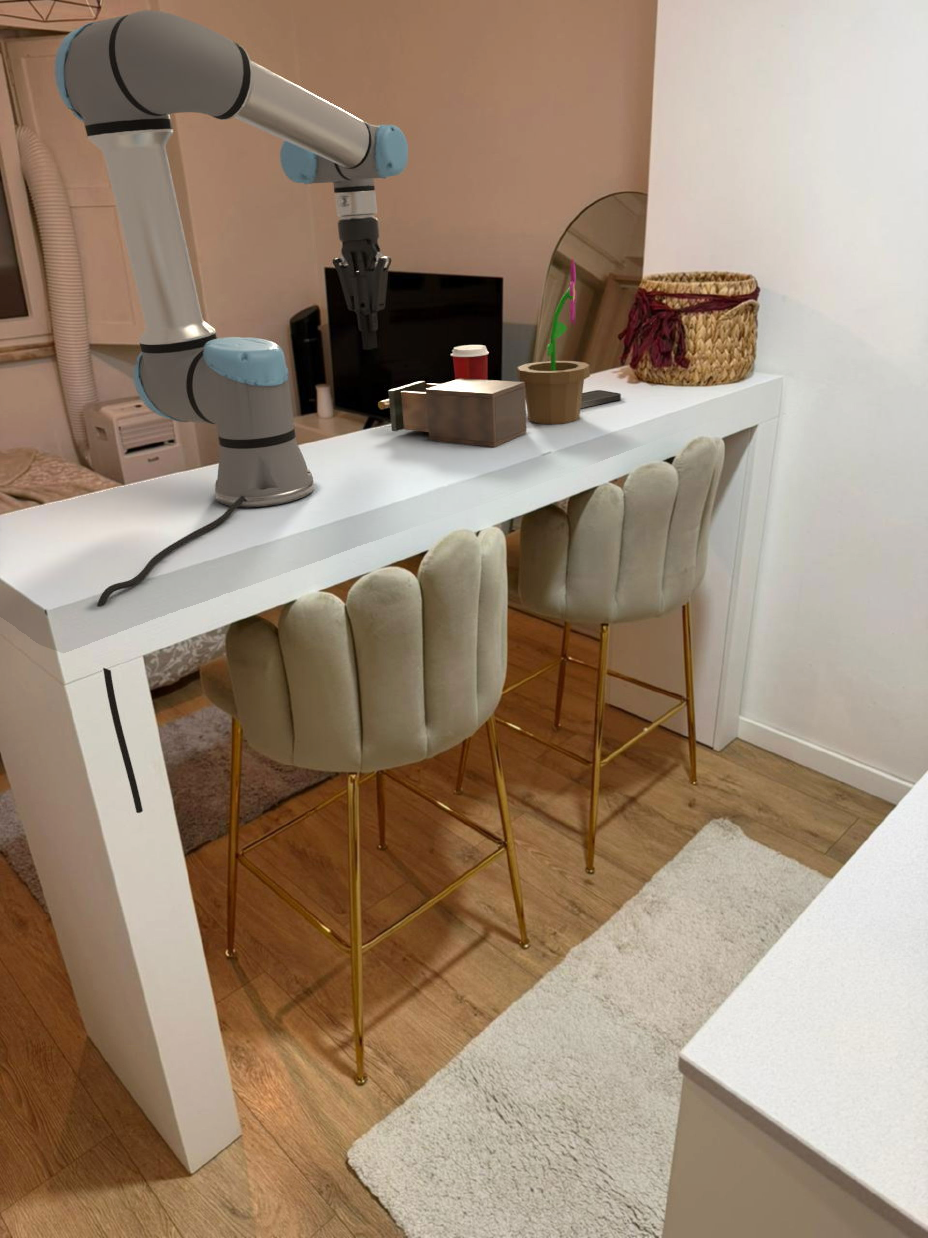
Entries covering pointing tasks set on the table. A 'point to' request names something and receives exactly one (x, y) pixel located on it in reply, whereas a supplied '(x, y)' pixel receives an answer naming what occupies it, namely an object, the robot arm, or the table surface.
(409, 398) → the drawer
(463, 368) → the paper cup
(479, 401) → the cabinet
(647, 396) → the table surface
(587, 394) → the phone
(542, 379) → the flowerpot
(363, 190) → the robot arm
